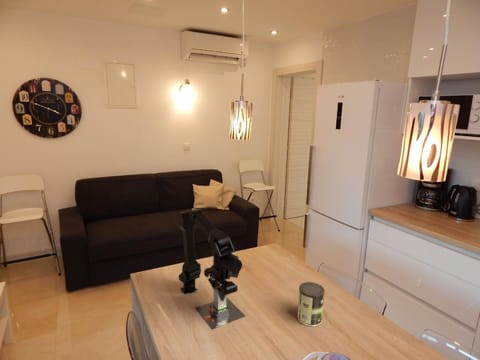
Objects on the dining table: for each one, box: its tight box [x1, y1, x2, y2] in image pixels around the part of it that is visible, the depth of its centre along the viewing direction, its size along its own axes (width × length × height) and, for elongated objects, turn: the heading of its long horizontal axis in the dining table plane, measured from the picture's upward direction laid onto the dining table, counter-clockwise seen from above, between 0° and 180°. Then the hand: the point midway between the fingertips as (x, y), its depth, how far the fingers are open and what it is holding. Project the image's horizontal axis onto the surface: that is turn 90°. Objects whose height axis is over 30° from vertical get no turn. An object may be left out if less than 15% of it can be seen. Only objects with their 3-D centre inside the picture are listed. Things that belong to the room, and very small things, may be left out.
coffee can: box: [297, 281, 326, 328], centre depth 130 cm, size 10×10×14 cm
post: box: [212, 285, 227, 311], centre depth 131 cm, size 4×4×9 cm
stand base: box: [194, 296, 246, 330], centre depth 133 cm, size 16×16×4 cm
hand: (219, 297), depth 131 cm, fingers closed on post, 4 cm apart
